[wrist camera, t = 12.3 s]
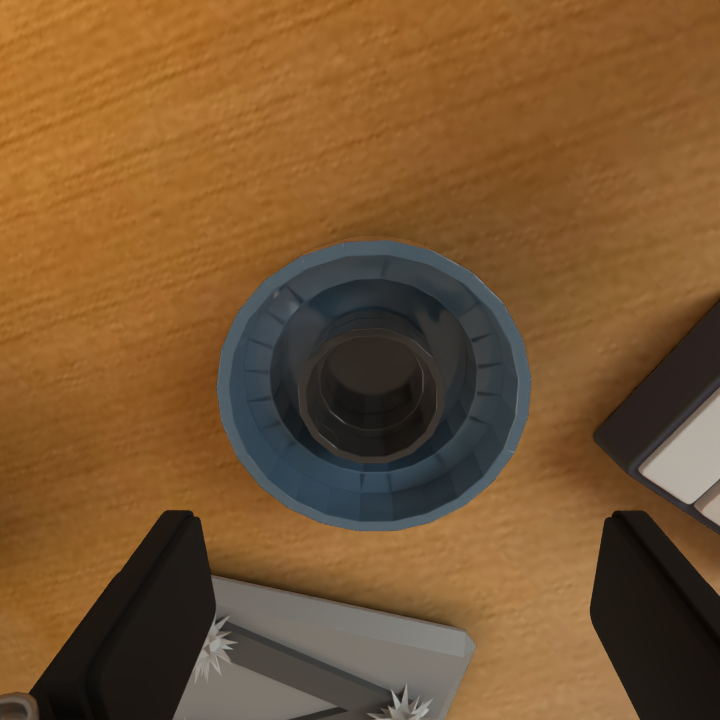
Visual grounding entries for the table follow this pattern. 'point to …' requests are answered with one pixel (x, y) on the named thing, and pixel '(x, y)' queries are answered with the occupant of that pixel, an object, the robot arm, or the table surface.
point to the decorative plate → (320, 660)
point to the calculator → (675, 426)
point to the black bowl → (371, 388)
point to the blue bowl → (451, 352)
